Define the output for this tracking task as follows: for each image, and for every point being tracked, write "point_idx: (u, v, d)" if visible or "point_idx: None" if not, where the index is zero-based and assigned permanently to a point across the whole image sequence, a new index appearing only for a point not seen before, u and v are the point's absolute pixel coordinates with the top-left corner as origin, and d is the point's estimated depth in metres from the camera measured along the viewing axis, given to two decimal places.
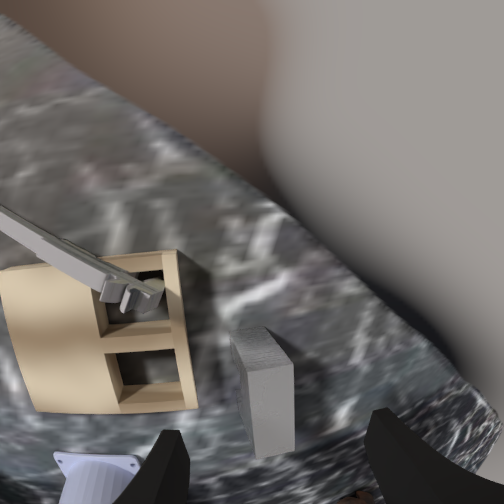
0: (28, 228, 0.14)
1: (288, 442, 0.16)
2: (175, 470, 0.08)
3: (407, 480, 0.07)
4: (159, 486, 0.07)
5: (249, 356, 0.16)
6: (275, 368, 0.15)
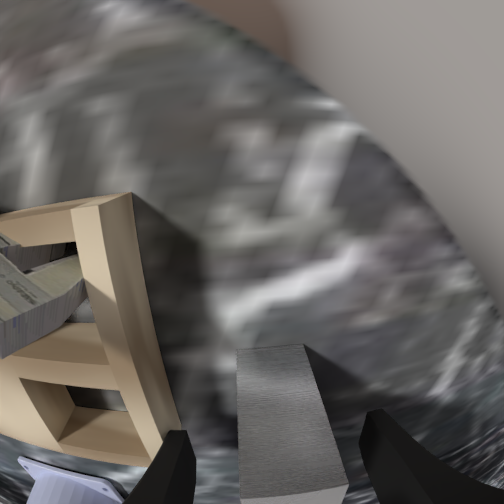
0: None
1: None
2: (182, 470, 0.08)
3: (401, 482, 0.07)
4: (167, 487, 0.07)
5: (257, 441, 0.07)
6: (307, 494, 0.05)
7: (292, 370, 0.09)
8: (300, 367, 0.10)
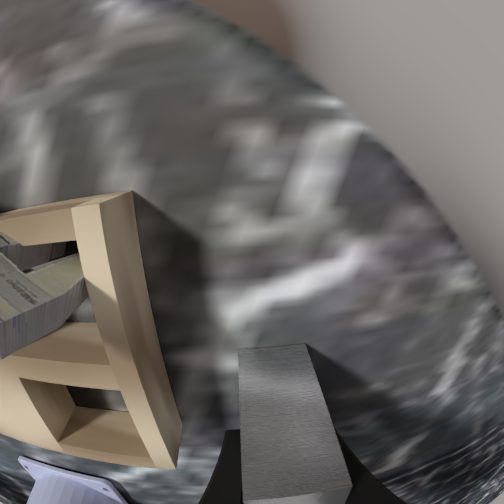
0: None
1: None
2: None
3: None
4: (240, 488, 0.07)
5: (260, 442, 0.07)
6: (310, 495, 0.05)
7: (295, 370, 0.09)
8: (303, 367, 0.09)
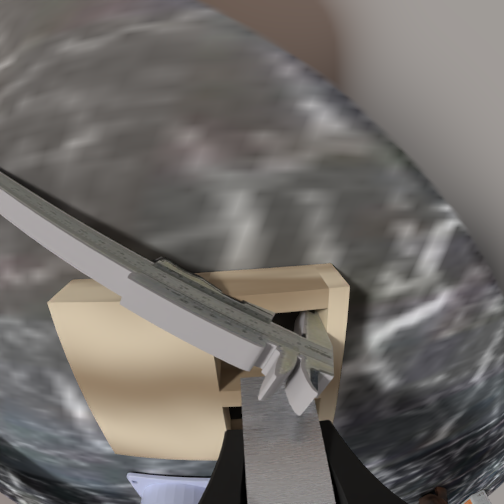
0: (98, 251, 0.09)
1: None
2: None
3: (337, 500, 0.06)
4: (240, 488, 0.07)
5: (264, 490, 0.07)
6: None
7: None
8: None
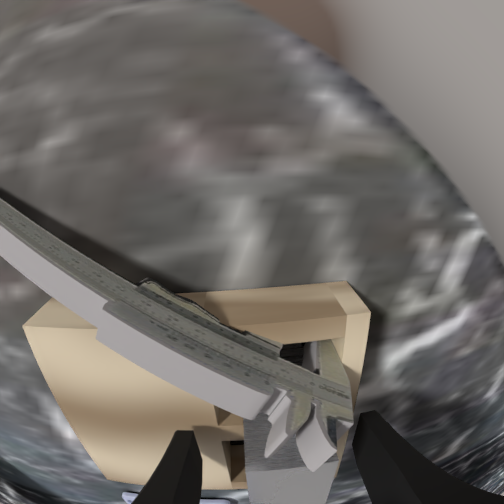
0: (69, 273, 0.07)
1: None
2: (190, 471, 0.08)
3: (393, 485, 0.07)
4: (176, 487, 0.07)
5: (260, 423, 0.08)
6: (303, 468, 0.06)
7: None
8: (298, 360, 0.11)
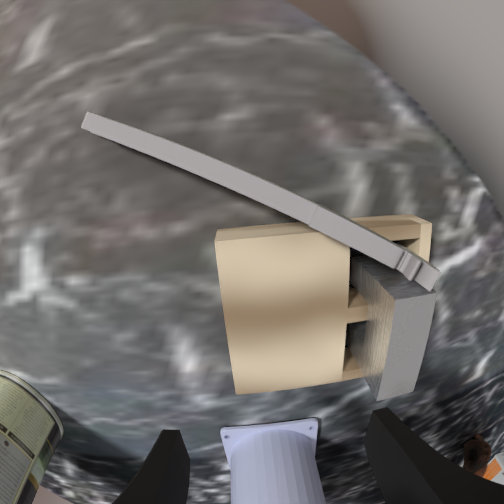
0: (288, 191, 0.14)
1: (411, 382, 0.14)
2: (175, 470, 0.08)
3: (407, 480, 0.07)
4: (159, 486, 0.07)
5: (388, 283, 0.14)
6: (421, 297, 0.13)
7: None
8: None
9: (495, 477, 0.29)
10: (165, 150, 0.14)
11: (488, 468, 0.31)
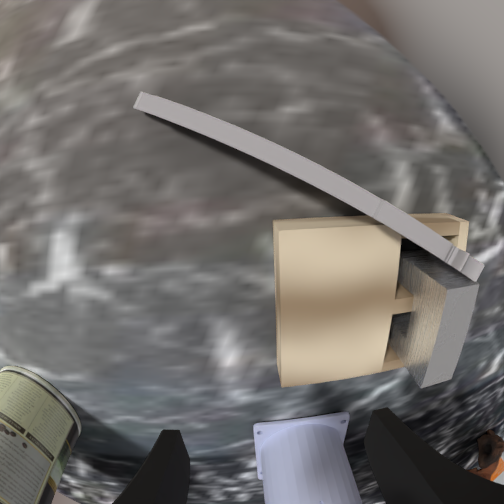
0: (355, 184, 0.14)
1: (450, 369, 0.14)
2: (175, 470, 0.08)
3: (407, 480, 0.07)
4: (159, 486, 0.07)
5: (436, 275, 0.14)
6: (467, 287, 0.13)
7: (428, 257, 0.17)
8: (430, 256, 0.17)
9: (500, 475, 0.29)
10: (233, 136, 0.14)
11: None
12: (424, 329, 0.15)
